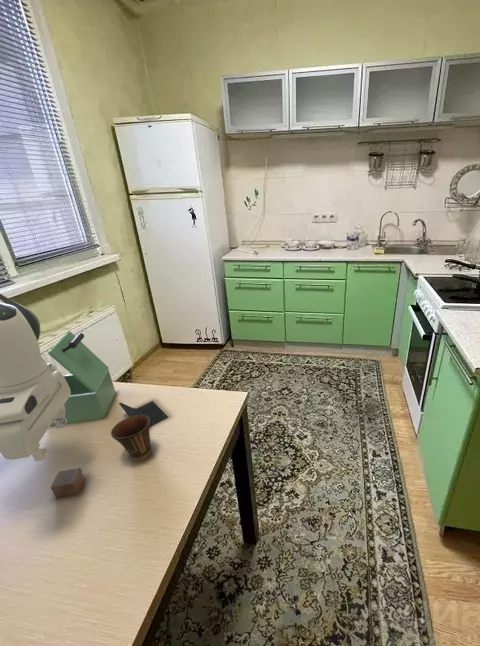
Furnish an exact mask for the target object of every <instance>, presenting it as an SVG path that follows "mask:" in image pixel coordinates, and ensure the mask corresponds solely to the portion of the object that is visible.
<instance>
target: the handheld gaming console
mask: <svg viewBox="0 0 480 646" xmlns="http://www.w3.org/2000/svg"><path fill="white" fill-rule="evenodd" d="M118 405H119V406H120V407H121V409H122V410H123V411H124V413H126V414H127V416H128V418H129V417H131V416H136V415H146V416H148V417H149V418H150V427H149V428H151V427H154V426H155V425H157V424H159V423H161V422H162V421H165V420H166V419H169V416H168V415H167V414H166V413H165V412H164V410H162V409H161V408H160V407H159V405H157V403H156V402H155V401H154V400H151V401H150V402H147V403H145V404H143V405H140V406H139V407H132V406H130V405H128V404H125V403H123V402H119V403H118Z"/></svg>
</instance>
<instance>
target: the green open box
mask: <svg viewBox="0 0 480 646" xmlns="http://www.w3.org/2000/svg"><path fill="white" fill-rule="evenodd" d="M63 376H64V378H65V379H66V381H67V383H68V385H69V387H70V391H71V394H70V397H69V398H68V400H67V401H66V403H65V404H64V406H65V418H66V420H67V423H66V424H65V425H69V424H76V423H83V422H91V421H96V420H103V419H105V417H106V416H107V414H108V412H109V409H110V407H111V405H112V403H113V401H114V398H115V397H116V395H117V394H116V393H117V392H116V389H115V386H114V383H113V380H112V379H113V378H112V377H111V373H110V371H109V369H108V370H107V372H106V374H105V376H104V378H103V379H102V381H101V383H100V385H99V387H98V388H97V390H96V392H94V393H93V392H92V391H91V390H90V389H88V388H87V387H86V386H85V385H84V384H83V383H81V382H80V381H79V380H78V379H77V378H76V377H75V376H73V375H72V374H71V373H70V374H63ZM54 420H55V419H54ZM50 427H56V426H55V424H54V421H53V422H52V424H51V425H50Z"/></svg>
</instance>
